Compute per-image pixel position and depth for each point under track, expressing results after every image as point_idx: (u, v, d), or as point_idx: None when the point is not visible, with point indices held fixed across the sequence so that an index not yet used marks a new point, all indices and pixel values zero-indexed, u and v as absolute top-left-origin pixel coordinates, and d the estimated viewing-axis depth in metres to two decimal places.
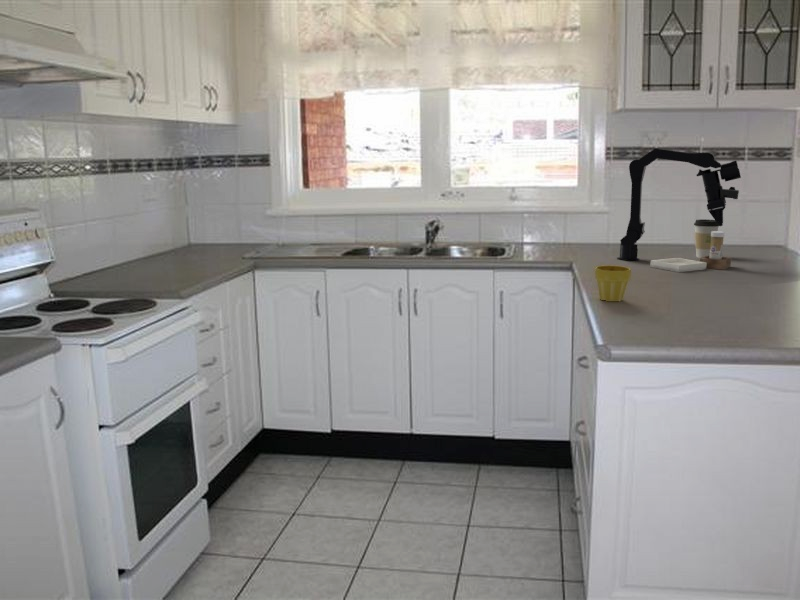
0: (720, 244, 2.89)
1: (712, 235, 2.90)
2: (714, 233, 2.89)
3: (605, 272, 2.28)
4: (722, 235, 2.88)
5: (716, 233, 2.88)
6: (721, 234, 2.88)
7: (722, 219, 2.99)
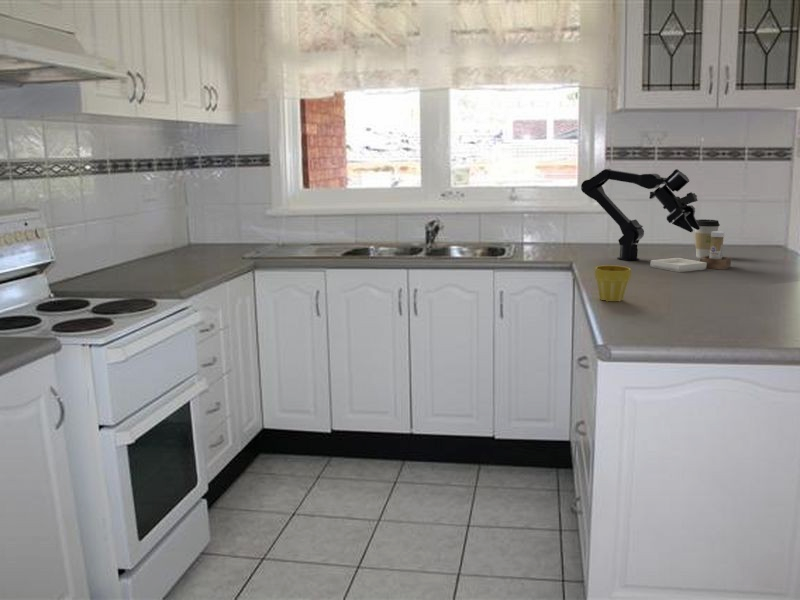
0: (720, 244, 2.89)
1: (712, 235, 2.90)
2: (714, 233, 2.89)
3: (605, 272, 2.28)
4: (722, 235, 2.88)
5: (716, 233, 2.88)
6: (721, 234, 2.88)
7: (697, 225, 2.98)
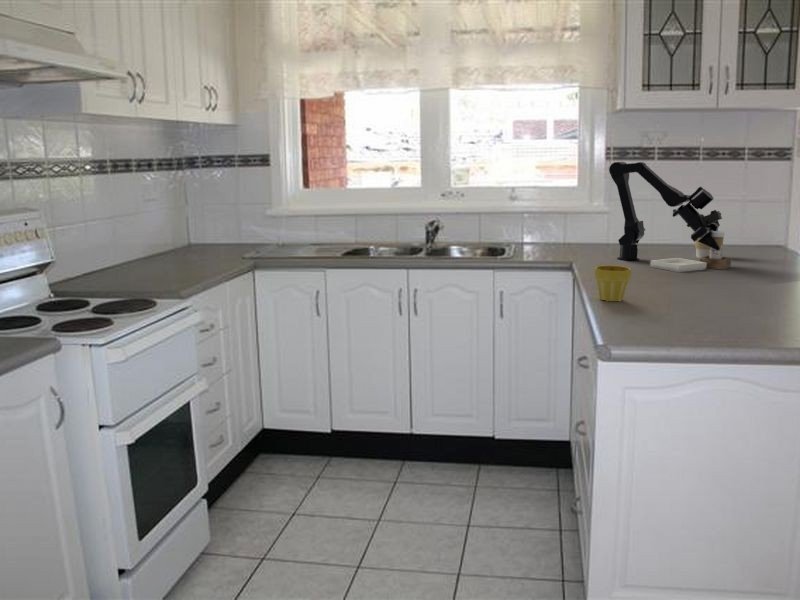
0: (720, 244, 2.89)
1: (712, 235, 2.90)
2: (714, 233, 2.89)
3: (605, 272, 2.28)
4: (722, 235, 2.88)
5: (716, 233, 2.88)
6: (721, 234, 2.88)
7: None
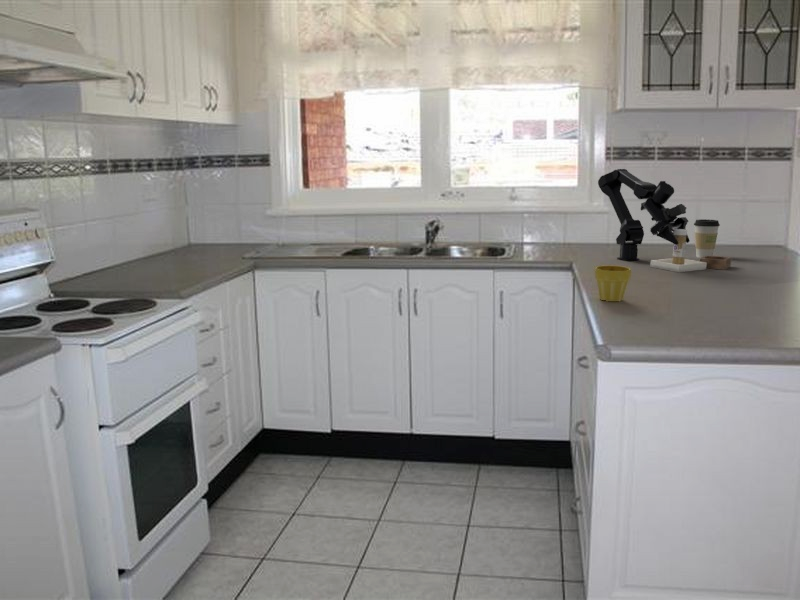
0: (682, 242, 2.87)
1: (674, 233, 2.88)
2: (676, 231, 2.87)
3: (605, 272, 2.28)
4: (684, 233, 2.86)
5: (678, 231, 2.86)
6: (683, 232, 2.86)
7: (687, 237, 2.90)
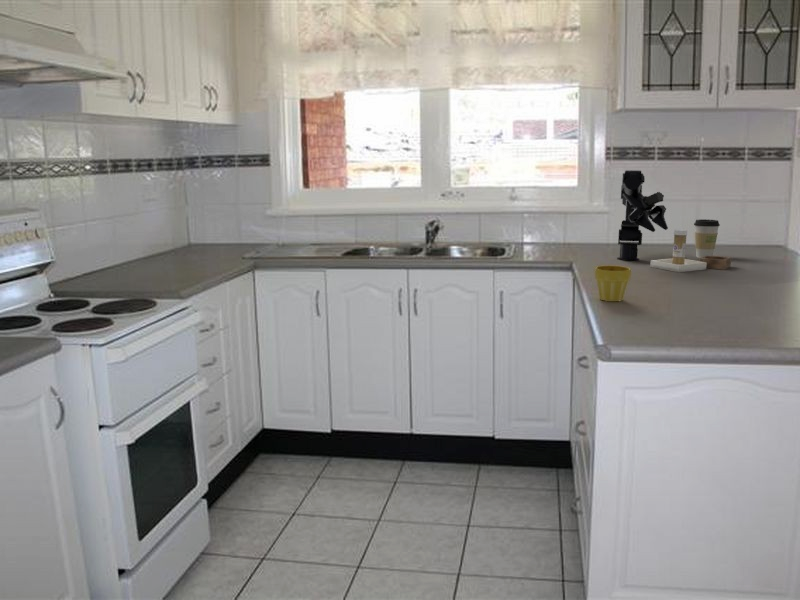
0: (682, 242, 2.87)
1: (674, 233, 2.88)
2: (676, 231, 2.87)
3: (605, 272, 2.28)
4: (684, 233, 2.86)
5: (678, 231, 2.87)
6: (683, 232, 2.86)
7: (665, 225, 2.97)
